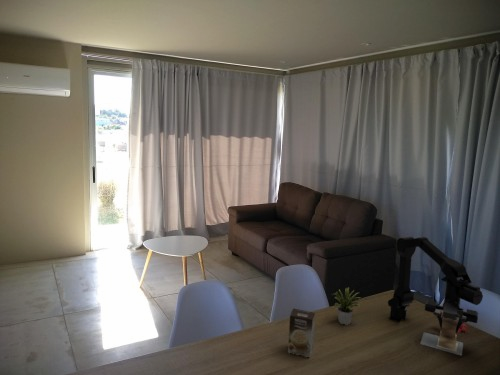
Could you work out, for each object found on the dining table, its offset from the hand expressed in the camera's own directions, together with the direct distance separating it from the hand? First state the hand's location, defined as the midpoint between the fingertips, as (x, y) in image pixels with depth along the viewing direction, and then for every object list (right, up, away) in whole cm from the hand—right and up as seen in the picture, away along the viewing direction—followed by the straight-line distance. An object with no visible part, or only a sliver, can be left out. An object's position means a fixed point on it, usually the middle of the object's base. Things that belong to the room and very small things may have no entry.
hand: (448, 330), depth 155 cm
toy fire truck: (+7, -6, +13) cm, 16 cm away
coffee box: (-61, -7, -5) cm, 62 cm away
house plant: (-39, -4, +18) cm, 43 cm away
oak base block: (0, -6, +1) cm, 6 cm away
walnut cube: (0, -1, 0) cm, 1 cm away
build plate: (-2, -7, +2) cm, 7 cm away
